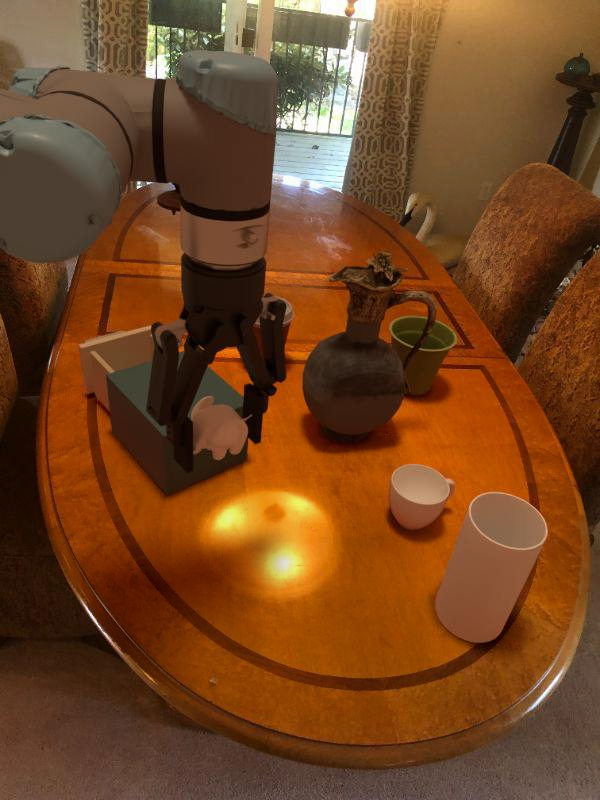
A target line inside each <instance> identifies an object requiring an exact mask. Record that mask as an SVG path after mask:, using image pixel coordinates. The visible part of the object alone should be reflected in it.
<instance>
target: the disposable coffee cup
mask: <svg viewBox="0 0 600 800" xmlns="http://www.w3.org/2000/svg"><path fill="white" fill-rule="evenodd" d="M264 295H265V294H264ZM264 295H263V297H264ZM275 296H276V297H277V298H278V299H280V300H282V301H283V302H284V303H286V305H287V308H286V313H285V317H284V321H283V331H284V347H285V348H286V344H287V339H288V336H289V331H290V327H291V324H292V322H293V320H294V318H295V311H294V309H293V305H292V303H290V301H288V299H285V298H283V297H281V296H278V295H275ZM263 297H262V298H263ZM252 329H253V332H254V334H255V337H256V339H257V342H258V346H257V347H258V349H259V352H260V354H261V357H262V359H263V351H262V341H261V330H260V316H259V317H258V319H257V321H256V322H255V324H254V326H253V328H252ZM263 362H264V361H263Z"/></svg>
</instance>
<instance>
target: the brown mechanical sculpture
mask: <svg viewBox="0 0 600 800" xmlns="http://www.w3.org/2000/svg"><path fill="white" fill-rule="evenodd" d="M171 185H173V187H174V189H171V190H166V191H164V192H162V193H160V194H158V196H157V197H156V204H157V205H158V206H159V207H160V208H162V209H165V210H168V211H171V214H172V216H175V215H176V213H177V212H178V213H181V204H180V194H181V191H180V184H177V183H171Z"/></svg>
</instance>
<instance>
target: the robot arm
mask: <svg viewBox="0 0 600 800" xmlns="http://www.w3.org/2000/svg"><path fill="white" fill-rule="evenodd" d="M10 79H11V80H10V87H9V88H8V89H4V88H1V87H0V249H1V250H3V251H4V252H5V253H6V254H8V255H10V256H11V257H14V258H16V259H19V260H21V261H26V262H30V263H35V264H56V263H63V262H65V261H69V260H71V259H74V258H77V257H79V256H80V255H82V254H83V253H85V252H86V251H87V250H88V249H90V248H91V247H92V246H93V245H94V244H95V243H96V241H97V240H98V239H99V237H100V236H101V235H102V234H103V233H104V232H105V231H106V229H107V228H108V227H109V226H110V225H111V224H112V222H113V220H114V218H115V215H116V213H117V212H118V211H119V209H120V206H121V202H122V198H123V197H122V196H123V193H124V191H125V189H126V187H127V186H128V184H129V182H139V183H140V182H141V183H151V184H153V183H154V184H166V185H167V184H172V183H177V184H180V191H181V194H180V204H181V212H180V226H179V227H180V232H179V234H180V238H179V239H180V242H179V243H180V249H181V251H182V254H181V257H180V285H181V286H180V288H181V295H182V300H183V305H182V308H181V311H180V313H179V315H178V319H176V320H173V321H171V322H169V323H167V324H163V323H162V322H161V321H155V322H154V323H152V325H151V333H152V337H153V341H154V345H155V346H154V354H153V361H152V368H151V376H150V383H149V391H148V398H147V406H146V411H147V412H148V414H149V415H150V416H151V417H152V418H153V419H154V420H155V421H156V422H157V423H158V424H159V425H160V426H165V425H166V438H167V440H168V441H169V442H170V444H171V445H172V446H173V447H174V460H175V461H176V462H177V463H178V464H179V465H180V466H181V467H182V468H183V470H184V471H185V472H186V473H189V472H192V471H193V421H192V420H191V419H190V418H189V417H188V413H189V411H190V408H191V406H192V403H193V401H194V398H195V396H196V393H197V391H198V388H199V386H200V383H201V381H202V379H203V376H204V374H205V371H206V369H207V366H208V367H209V365H212V364H214V361H215V358H216V355H217V354H218V353H220V352H222V351H224V350H225V349H227V348H236V350H237V352H238V354H239V356H240V359H241V361H242V363H243V366H244V368H245V370H246V372H247V375H248V377H249V379H250V381H251V382H252V383H251V382H249V383H245V384H243V397H244V398H243V416H242V419H245V418H247V417H249V416H250V415H251V414H252V416H251V417H249V418H248V419H247V420H246V421H245V423H246V425H247V427H248V435H247V437H248V440H250V441H251V442H252V443H253V444H254V445H258V444H260V443H262V434H263V433H262V431H263V419H264V414H267V412H268V409H269V400H270V399H269V398H270V397H273V396H275V395H276V393H277V391H278V388H277V387H276V385H274V384H276V383H280V384H282V383H284V382H285V381H286V379H287V365H286V363H287V362H286V346H285V347H284V331H283V321H284V317H285V313H286V308H287V305H286V303H284V302H283V301H282V300H280V299H278V298H277V297H276V296H277V295H274V294H273V293H272V292H267V293H265V289H266V275H267V273H266V272H267V260H266V258H265V256H266V254H267V252H268V244H269V229H270V216H271V215H270V214H271V199H272V189H273V179H274V177H273V175H274V166H275V154H276V140H277V133H278V132H277V131H278V128H277V126H278V125H277V123H278V122H277V121H278V118H277V117H278V85H279V80H278V79H279V77H278V74H277V72H276V71H275V68H274V67H273V66H272V64H271V63H270V62H268V61H267V60H265V59H264V58H262V57H259V56H256V55H251V54H247V53H241V52H234V51H226V50H225V51H224V50H205V49H195V50H188V51H185V52H184V53H182V54H181V55H180V57H179V60H178V67H177V71H176V73H175V77H167V78H154V77H153V78H152V77H143V76H134V75H124V74H116V73H108V72H97V71H90V70H89V71H88V70H80V69H79V70H78V69H72V68H71V67H70V66H62V65H59V66H56V67H31V66H29V67H27V66H26V67H22V68H19V69H18V70H17V71H16V72H15V73H13V75H12V77H11V78H10ZM263 295H264V297H263ZM262 297H263V298H262ZM259 316H260V330H261V341H262V351H263V359H262V357H261V354H260V352H259V349H258V347H257V346H258V342H257V339H256V337H255V334H254V332H253V329H252V328H253V326H254V324H255V322H256V321H257V319H258V317H259ZM186 333H187V335H186V337H185V340H184V343H183V337H184V335H185V334H186ZM182 347H183V349H184V350H183V351H184V355H183V358H182V360H181V363H180V365H179V368H178V363H179V352H180V349H181V348H182ZM263 361H264V362H263ZM177 369H178V370H177Z"/></svg>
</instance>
